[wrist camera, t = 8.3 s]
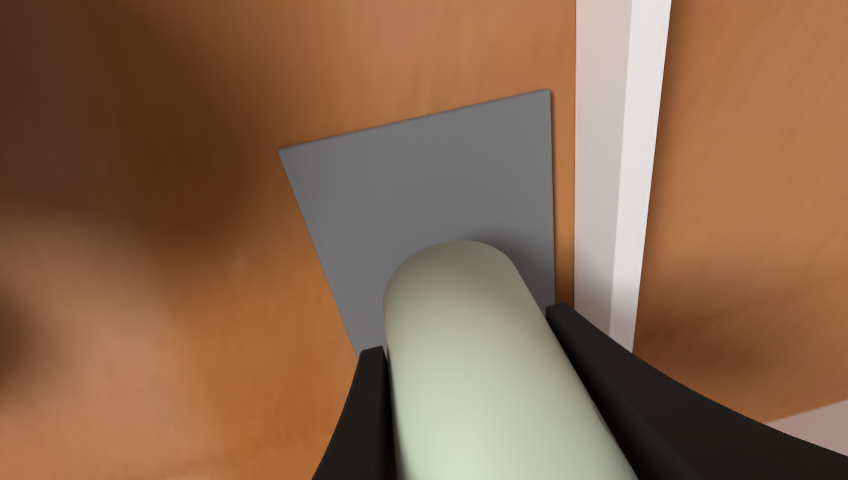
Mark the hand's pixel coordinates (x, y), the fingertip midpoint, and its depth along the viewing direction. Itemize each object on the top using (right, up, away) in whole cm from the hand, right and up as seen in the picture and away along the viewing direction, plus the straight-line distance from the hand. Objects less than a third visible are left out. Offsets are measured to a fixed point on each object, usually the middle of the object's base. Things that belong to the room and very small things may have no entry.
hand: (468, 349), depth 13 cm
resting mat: (-1, +2, +4) cm, 5 cm away
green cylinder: (0, +1, +2) cm, 2 cm away
